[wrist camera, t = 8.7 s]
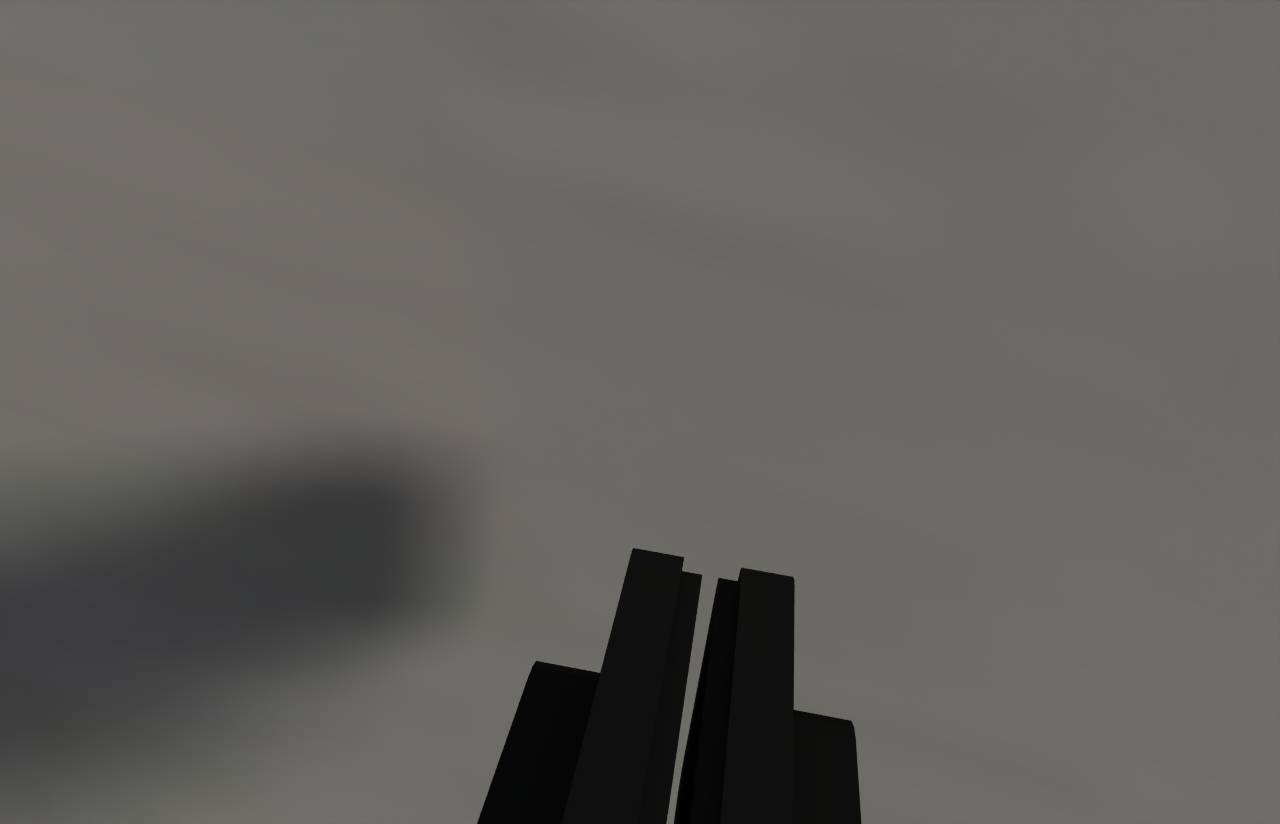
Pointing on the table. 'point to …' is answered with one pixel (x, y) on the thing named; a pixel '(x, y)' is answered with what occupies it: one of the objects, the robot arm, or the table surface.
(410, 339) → the table surface
